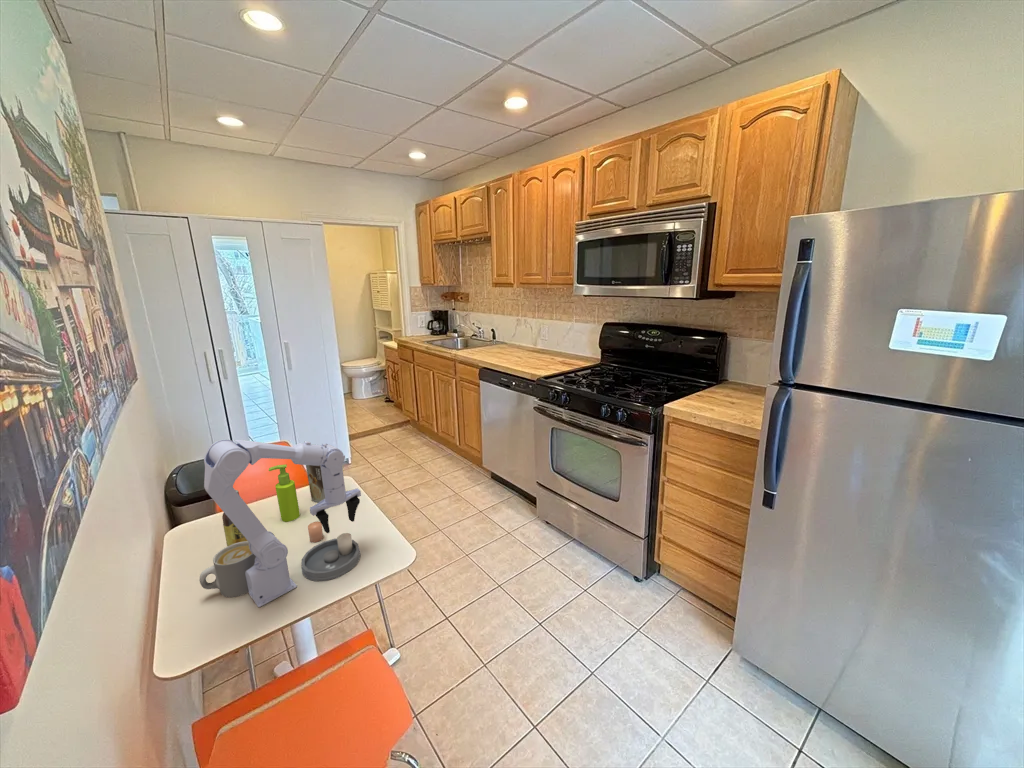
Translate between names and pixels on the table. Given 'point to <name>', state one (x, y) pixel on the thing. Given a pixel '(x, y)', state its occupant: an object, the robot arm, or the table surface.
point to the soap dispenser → (286, 495)
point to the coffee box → (315, 483)
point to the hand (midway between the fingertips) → (339, 525)
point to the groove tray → (325, 569)
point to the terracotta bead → (315, 532)
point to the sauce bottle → (232, 531)
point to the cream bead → (345, 544)
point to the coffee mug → (230, 570)
